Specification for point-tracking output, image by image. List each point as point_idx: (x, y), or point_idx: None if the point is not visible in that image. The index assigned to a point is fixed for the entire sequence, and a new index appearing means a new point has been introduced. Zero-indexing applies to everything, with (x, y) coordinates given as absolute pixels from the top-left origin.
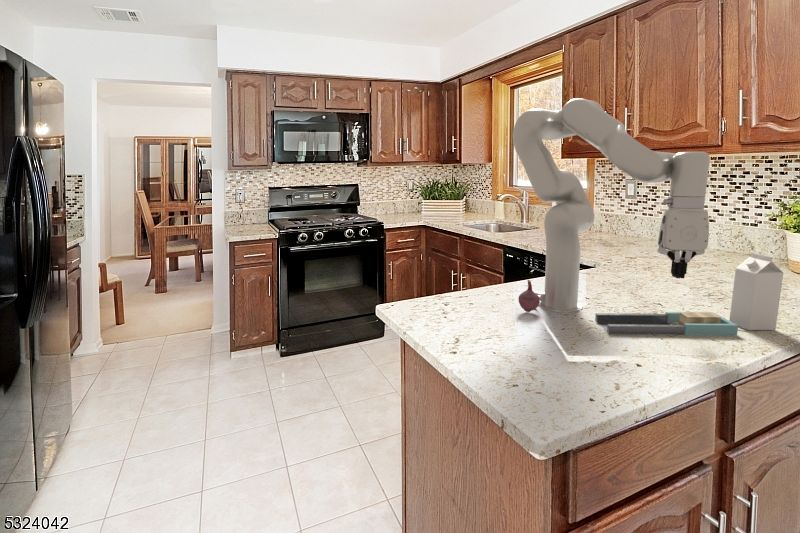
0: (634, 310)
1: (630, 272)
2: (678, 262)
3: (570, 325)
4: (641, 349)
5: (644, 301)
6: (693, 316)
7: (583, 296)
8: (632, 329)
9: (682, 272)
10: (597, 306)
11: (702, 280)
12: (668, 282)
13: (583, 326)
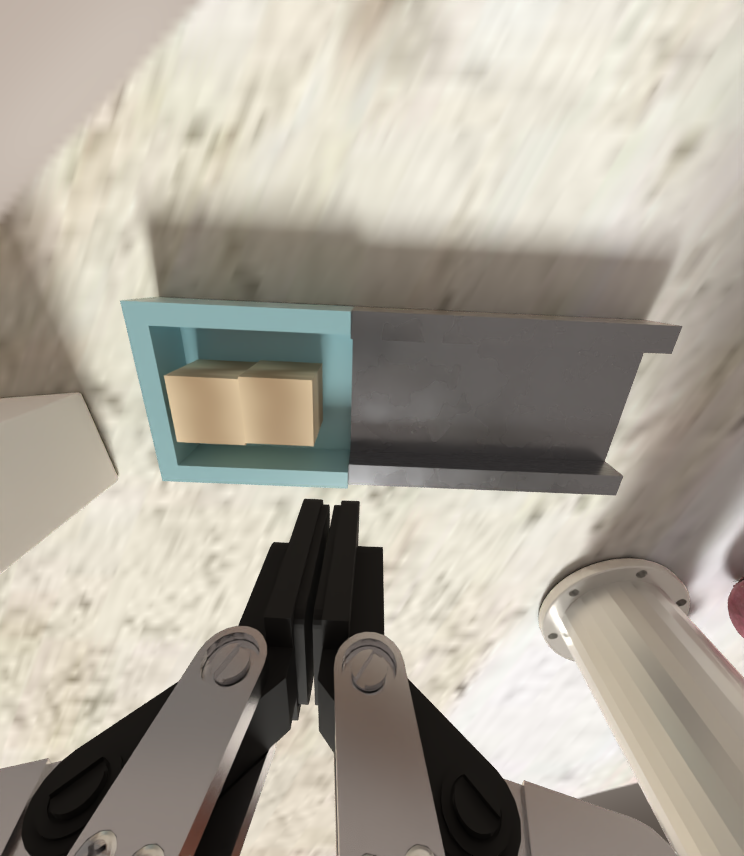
0: None
1: None
2: (348, 640)
3: (687, 458)
4: (605, 163)
5: None
6: (281, 389)
7: (462, 702)
8: (573, 319)
9: (315, 533)
10: (472, 627)
11: None
12: None
13: (648, 448)
